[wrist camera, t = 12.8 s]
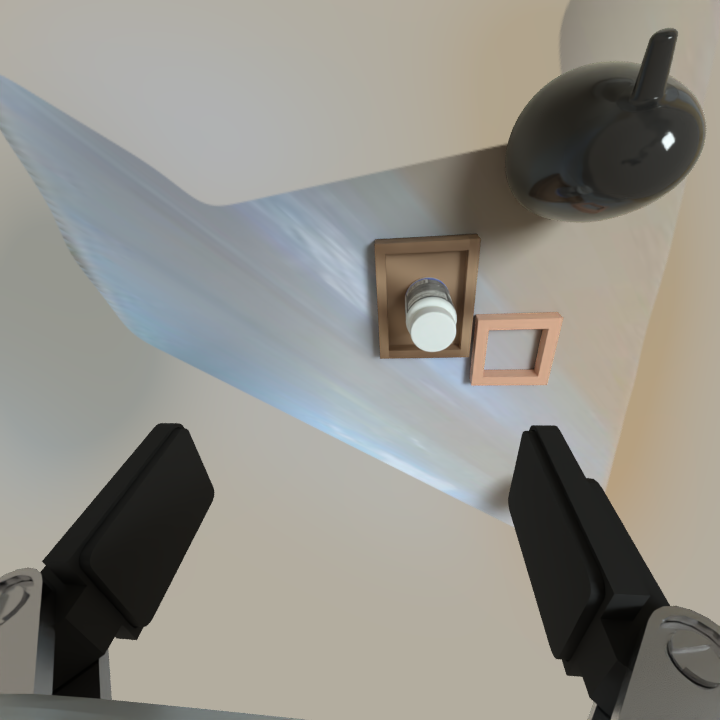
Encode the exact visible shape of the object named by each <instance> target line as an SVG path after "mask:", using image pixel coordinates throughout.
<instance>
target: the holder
mask: <svg viewBox="0 0 720 720" xmlns="http://www.w3.org/2000/svg"><path fill="white" fill-rule="evenodd" d="M562 322H563V317H562V316H561V315H560V314H559V313H558V312H546V313H512V314H477V315H476V319H475V328H474V338H473V348H472V357H471V367H470V377H469V379H470V382H471V385H547V383H548V379H549V375H550V371H551V367H552V362H553V358H554V354H555V350H556V346H557V342H558V338H559V334H560V330H561V326H562ZM515 329H543V330H542V335H541V339H540V344H539V349H538V353H537V358H536V362H535V367H534V369H530V370H484V364H485V356H486V348H487V340H488V332H489V330H515Z"/></svg>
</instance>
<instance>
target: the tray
mask: <svg viewBox="0 0 720 720" xmlns="http://www.w3.org/2000/svg"><path fill="white" fill-rule="evenodd" d="M480 243H481V238H480V237H479V236H478V234H465V235H446V236H428V237H410V238H392V239H376V240H375V244H374V246H375V265H376V284H377V303H378V322H379V341H380V359H383V358H446V357H469V354H470V344H471V333H472V323H473V313H474V303H475V293H476V283H477V273H478V263H479V253H480ZM424 277H432V278H436V279H439V280H441V281H442V282H443V283H444V284H445V285H446V287H447V288H448V291H449V293H450V297H451V299H452V303H453V305H454V308H455V311H456V314H457V323H456V336H455V338H454V340H453V342H452V343H451V344H450V345H449V346H448V347H447V348H445V349H443V350H441V351H437V352H427V351H424V350H422V349H420V348H418V347H417V346H416V345H415V344H414V342H413V341H412V338H411V335H410V333H409V332H408V329H407V326H406V315H405V296H406V292H407V290H408V288H409V286H410V285H411V284H412V283H413V282H415V281H416V280H418V279H420V278H424Z"/></svg>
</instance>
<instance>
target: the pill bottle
mask: <svg viewBox="0 0 720 720" xmlns="http://www.w3.org/2000/svg"><path fill="white" fill-rule="evenodd" d="M405 315H406V326H407V329H408V332H409V333H410V335H411V338H412V341H413V342H414V344H415V345H416V346H417V347H418V348H420V349H422V350H424V351H427V352H437V351H441V350H443V349H445V348H447V347H448V346H449V345H450V344H451V343H452V342H453V340H454V338H455V336H456V323H457V314H456V311H455V308H454V305H453V303H452V299H451V297H450V293H449V291H448V288H447V287H446V285H445V284H444V283H443V282H442V281H441V280H439V279H436V278H432V277H424V278H420V279H418V280H416V281H415V282H413V283H412V284H411V285H410V286H409V288H408V290H407V292H406V296H405Z"/></svg>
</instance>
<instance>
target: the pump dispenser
mask: <svg viewBox="0 0 720 720" xmlns="http://www.w3.org/2000/svg"><path fill="white" fill-rule="evenodd" d="M677 37H678V31H677V30H676V29H674V28H665V29H662V30H659V31H658V32H656V33H655V34H653V35H652V37H651V38H650V40H649V43H648V46H647V49H646V52H645V55H644V58H643V61H642V64H639V63H633V62H598V63H592V64H588V65H584V66H581V67H578V68H575V69H573V70H570V71H568V72H566V73H564V74H562V75H560V76H558V77H557V78H555V79H554V80H552V81H551V82H549V83H548V84H547V85H546V86H544V88H542V89H541V90H540V91H539V92H538V93H537V94H536V95H535V96H534V97H533V98H532V99H531V100H530V101H529V103H528V104H527V105H526V107H525V108H524V109H523V111H522V113H521V114H520V116H519V117H518V119H517V121H516V123H515V125H514V127H513V130H512V132H511V135H510V138H509V141H508V145H507V150H506V159H505V168H506V176H507V181H508V184H509V187H510V189H511V191H512V193H513V195H514V196H515V198H516V199H517V201H518V202H519V203H520V204H521V205H522V206H523V207H525V208H526V209H527V210H529V211H530V212H532V213H534V214H536V215H538V216H540V217H543V218H546V219H550V220H556V221H562V222H574V223H584V222H596V221H602V220H607V219H611V218H615V217H619V216H622V215H625V214H628V213H631V212H633V211H636V210H638V209H641V208H643V207H645V206H647V205H649V204H651V203H653V202H655V201H657V200H658V199H660V198H662V197H663V196H665V195H666V194H667V193H669V192H670V191H671V190H673V189H674V188H675V187H676V186H677V185H679V184H680V183H681V182H682V181H683V180H684V179H685V177H686V176H687V175H688V174H689V173H690V171H691V170H692V169H693V167H694V166H695V164H696V162H697V161H698V159H699V157H700V154H701V152H702V150H703V147H704V143H705V137H706V121H705V116H704V112H703V109H702V107H701V105H700V103H699V101H698V100H697V98H696V97H695V95H694V94H693V93H692V92H691V91H690V90H689V89H688V88H687V87H686V86H685V85H684V84H682V83H681V82H680V81H678V80H677V79H675V78H674V77H672V76H670V75H669V72H670V68H671V64H672V59H673V55H674V50H675V46H676V41H677Z"/></svg>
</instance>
